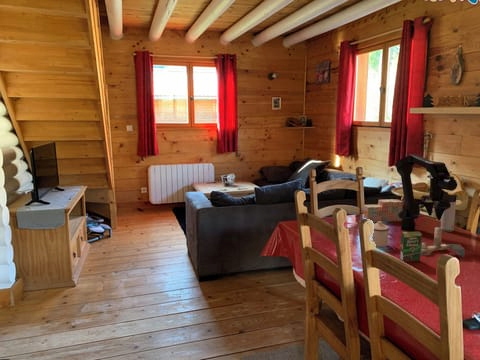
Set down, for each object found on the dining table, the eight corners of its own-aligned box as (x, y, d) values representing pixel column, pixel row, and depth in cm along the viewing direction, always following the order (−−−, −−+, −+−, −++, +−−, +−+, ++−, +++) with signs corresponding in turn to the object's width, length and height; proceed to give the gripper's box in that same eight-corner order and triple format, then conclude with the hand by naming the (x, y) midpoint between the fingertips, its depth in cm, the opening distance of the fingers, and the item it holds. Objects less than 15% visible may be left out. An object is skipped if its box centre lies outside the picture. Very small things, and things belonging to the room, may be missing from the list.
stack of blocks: (367, 222, 219) (368, 202, 217) (363, 219, 225) (364, 200, 223) (401, 221, 220) (403, 201, 218) (396, 218, 226) (397, 199, 224)
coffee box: (401, 261, 160) (404, 233, 158) (399, 259, 163) (401, 231, 161) (420, 261, 160) (422, 233, 158) (417, 259, 163) (419, 231, 161)
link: (423, 253, 167) (424, 232, 165) (415, 250, 172) (416, 229, 170) (450, 249, 172) (452, 228, 170) (441, 246, 176) (443, 225, 175)
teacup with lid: (388, 242, 185) (389, 220, 182) (387, 248, 176) (389, 225, 174) (363, 239, 189) (364, 217, 187) (362, 245, 181) (363, 222, 179)
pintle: (415, 254, 169) (416, 244, 168) (415, 249, 175) (416, 239, 174) (431, 256, 166) (431, 246, 165) (430, 251, 172) (431, 241, 171)
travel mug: (455, 232, 198) (459, 196, 195) (442, 231, 199) (445, 196, 196) (451, 228, 204) (455, 194, 201) (438, 228, 206) (442, 193, 202)
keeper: (450, 257, 165) (451, 248, 164) (446, 252, 171) (447, 243, 170) (463, 258, 163) (464, 249, 163) (459, 253, 169) (460, 244, 169)
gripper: (463, 190, 172) (460, 222, 175) (443, 184, 191) (441, 213, 193) (438, 190, 173) (437, 222, 175) (421, 184, 191) (420, 213, 194)
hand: (434, 217), depth 184 cm, fingers open, 9 cm apart
